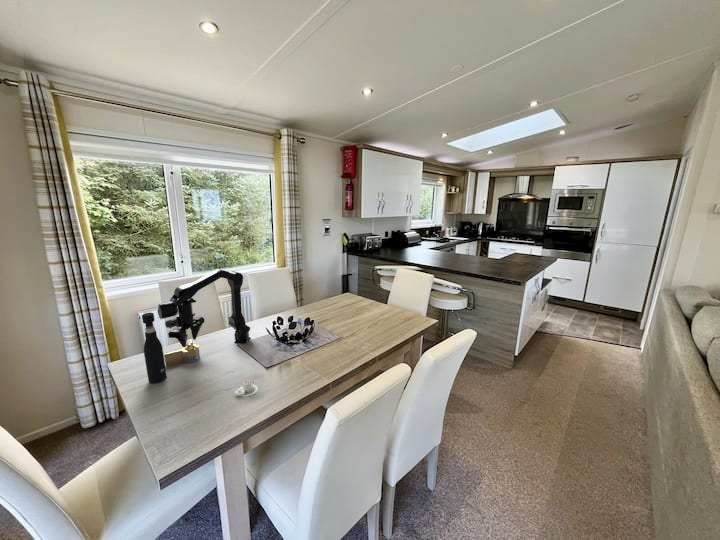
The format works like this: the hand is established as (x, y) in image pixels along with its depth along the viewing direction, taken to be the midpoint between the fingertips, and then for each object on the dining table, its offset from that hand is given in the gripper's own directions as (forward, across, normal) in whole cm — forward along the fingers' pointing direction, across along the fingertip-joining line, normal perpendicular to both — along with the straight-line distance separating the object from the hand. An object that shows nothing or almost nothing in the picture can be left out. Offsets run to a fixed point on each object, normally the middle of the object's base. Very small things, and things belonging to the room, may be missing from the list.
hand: (189, 343), depth 138 cm
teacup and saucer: (+9, +21, +34) cm, 41 cm away
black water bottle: (+9, +17, -4) cm, 20 cm away
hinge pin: (+8, 0, 0) cm, 8 cm away
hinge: (+8, -1, -2) cm, 9 cm away
